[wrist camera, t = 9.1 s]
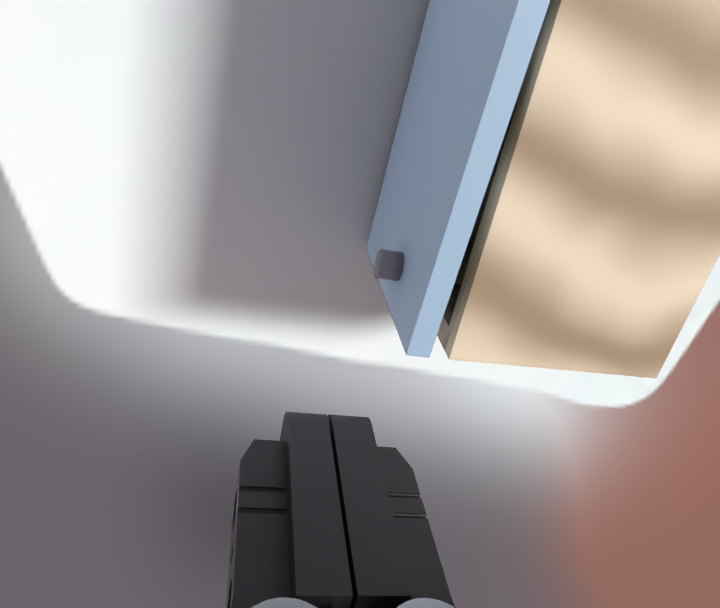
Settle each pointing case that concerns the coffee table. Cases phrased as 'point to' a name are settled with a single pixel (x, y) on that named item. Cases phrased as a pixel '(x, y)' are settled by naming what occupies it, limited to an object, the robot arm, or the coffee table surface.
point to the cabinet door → (446, 153)
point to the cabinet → (598, 194)
